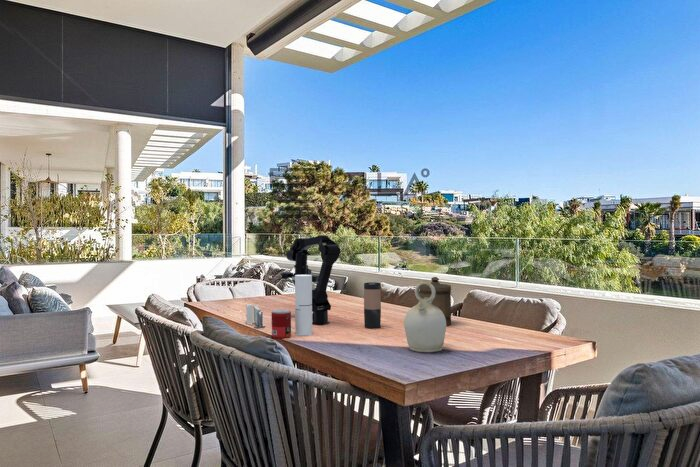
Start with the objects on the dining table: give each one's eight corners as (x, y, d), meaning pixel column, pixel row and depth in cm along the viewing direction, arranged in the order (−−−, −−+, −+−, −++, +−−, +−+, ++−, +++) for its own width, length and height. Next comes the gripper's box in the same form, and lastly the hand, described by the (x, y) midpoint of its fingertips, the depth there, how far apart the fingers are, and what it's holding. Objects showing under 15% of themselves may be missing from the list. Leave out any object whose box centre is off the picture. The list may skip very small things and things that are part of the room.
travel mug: (381, 325, 234) (381, 282, 234) (380, 329, 226) (380, 284, 226) (364, 325, 235) (364, 282, 234) (363, 328, 227) (363, 284, 227)
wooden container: (457, 324, 238) (457, 276, 238) (438, 328, 227) (438, 279, 227) (431, 320, 248) (431, 275, 248) (412, 324, 238) (412, 277, 238)
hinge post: (266, 327, 232) (266, 311, 232) (260, 328, 229) (260, 313, 229) (259, 326, 234) (259, 311, 234) (253, 328, 231) (253, 312, 231)
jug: (418, 342, 199) (417, 278, 199) (454, 348, 189) (453, 280, 189) (396, 349, 187) (395, 281, 187) (433, 356, 177) (432, 284, 177)
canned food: (289, 339, 207) (289, 312, 207) (270, 339, 207) (270, 312, 207) (292, 335, 214) (292, 309, 214) (273, 335, 215) (273, 309, 215)
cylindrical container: (309, 336, 212) (309, 276, 212) (293, 335, 213) (292, 276, 213) (314, 332, 219) (313, 274, 219) (298, 332, 220) (297, 274, 220)
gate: (260, 325, 234) (260, 309, 233) (257, 325, 233) (257, 309, 233) (256, 320, 244) (256, 305, 244) (253, 321, 244) (253, 306, 244)
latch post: (253, 323, 241) (253, 304, 241) (247, 324, 240) (247, 305, 240) (249, 321, 247) (249, 303, 247) (244, 322, 246) (244, 303, 246)
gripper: (324, 263, 258) (322, 294, 259) (291, 260, 264) (290, 290, 265) (315, 265, 248) (314, 297, 248) (281, 261, 254) (279, 292, 255)
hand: (299, 294), depth 255 cm, fingers closed
